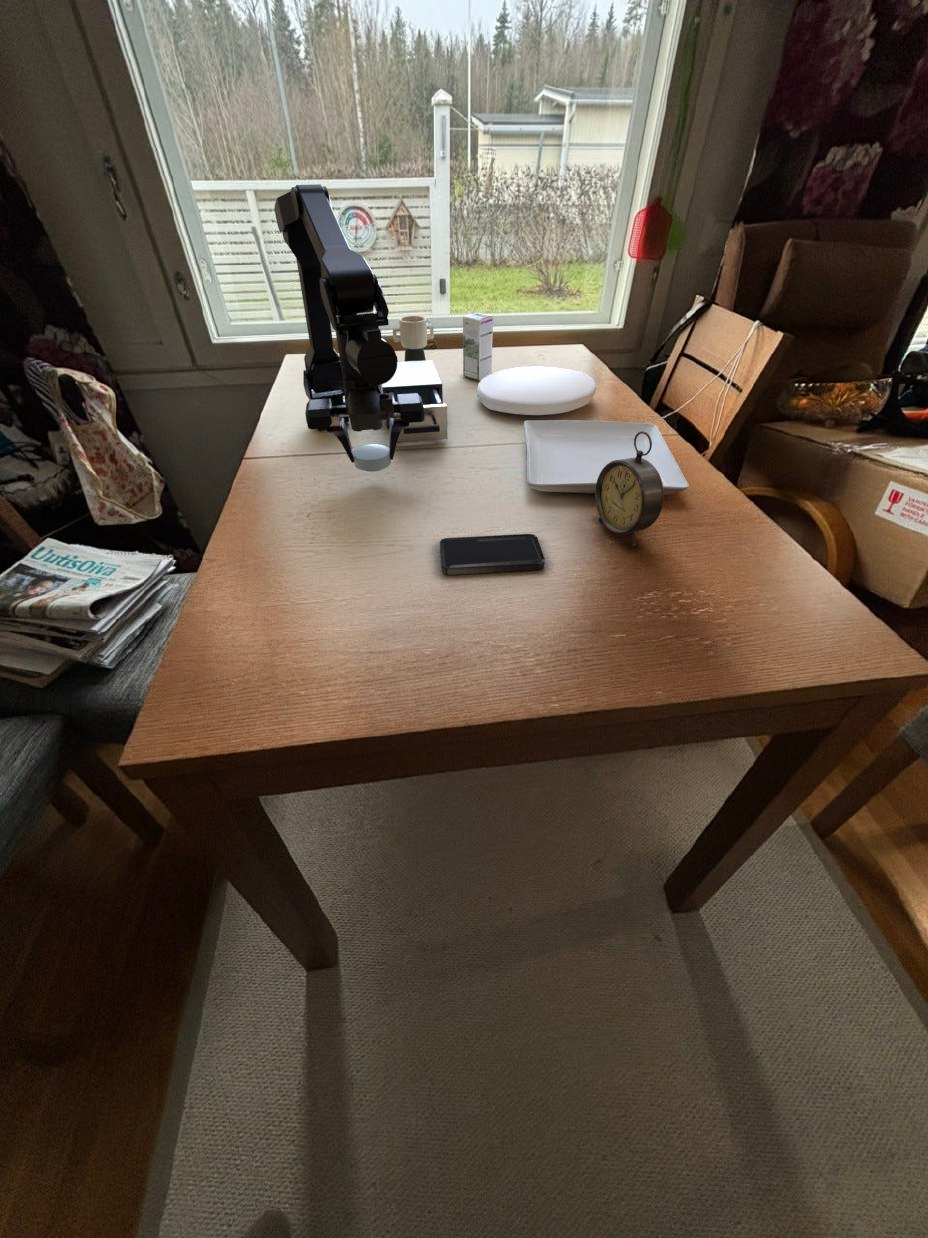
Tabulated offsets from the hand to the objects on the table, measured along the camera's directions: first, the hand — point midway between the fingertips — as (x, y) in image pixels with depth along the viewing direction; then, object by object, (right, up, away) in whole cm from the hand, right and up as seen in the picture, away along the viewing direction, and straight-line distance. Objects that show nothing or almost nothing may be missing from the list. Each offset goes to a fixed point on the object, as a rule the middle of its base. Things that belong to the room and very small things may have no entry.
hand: (372, 460), depth 88 cm
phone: (+20, -19, -12) cm, 30 cm away
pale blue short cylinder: (0, -1, +1) cm, 1 cm away
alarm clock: (+41, -14, -7) cm, 44 cm away
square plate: (+41, +1, +9) cm, 42 cm away
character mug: (+3, +40, +50) cm, 64 cm away
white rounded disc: (+33, +25, +34) cm, 53 cm away
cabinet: (+4, +20, +29) cm, 36 cm away
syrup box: (+20, +38, +48) cm, 64 cm away
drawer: (+6, +12, +19) cm, 24 cm away
